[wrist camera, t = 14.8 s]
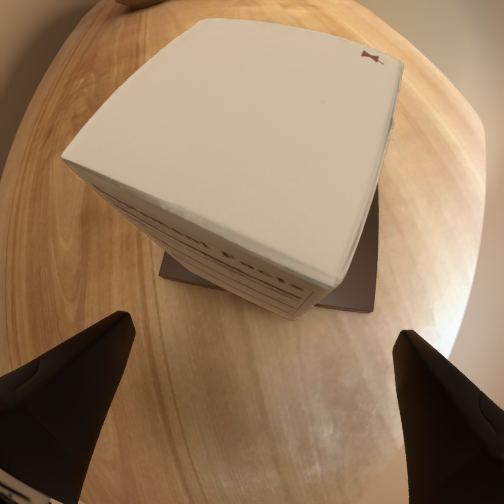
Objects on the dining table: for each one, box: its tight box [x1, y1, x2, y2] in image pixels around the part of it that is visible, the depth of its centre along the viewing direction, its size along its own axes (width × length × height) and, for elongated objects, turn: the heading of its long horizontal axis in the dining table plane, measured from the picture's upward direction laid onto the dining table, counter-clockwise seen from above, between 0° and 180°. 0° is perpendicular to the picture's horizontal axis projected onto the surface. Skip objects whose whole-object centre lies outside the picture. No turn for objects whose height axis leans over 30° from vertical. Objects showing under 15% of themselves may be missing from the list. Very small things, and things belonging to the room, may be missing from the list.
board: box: [159, 183, 379, 313], centre depth 21 cm, size 32×14×1 cm, turn 169°
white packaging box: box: [61, 18, 404, 321], centre depth 11 cm, size 7×7×13 cm
